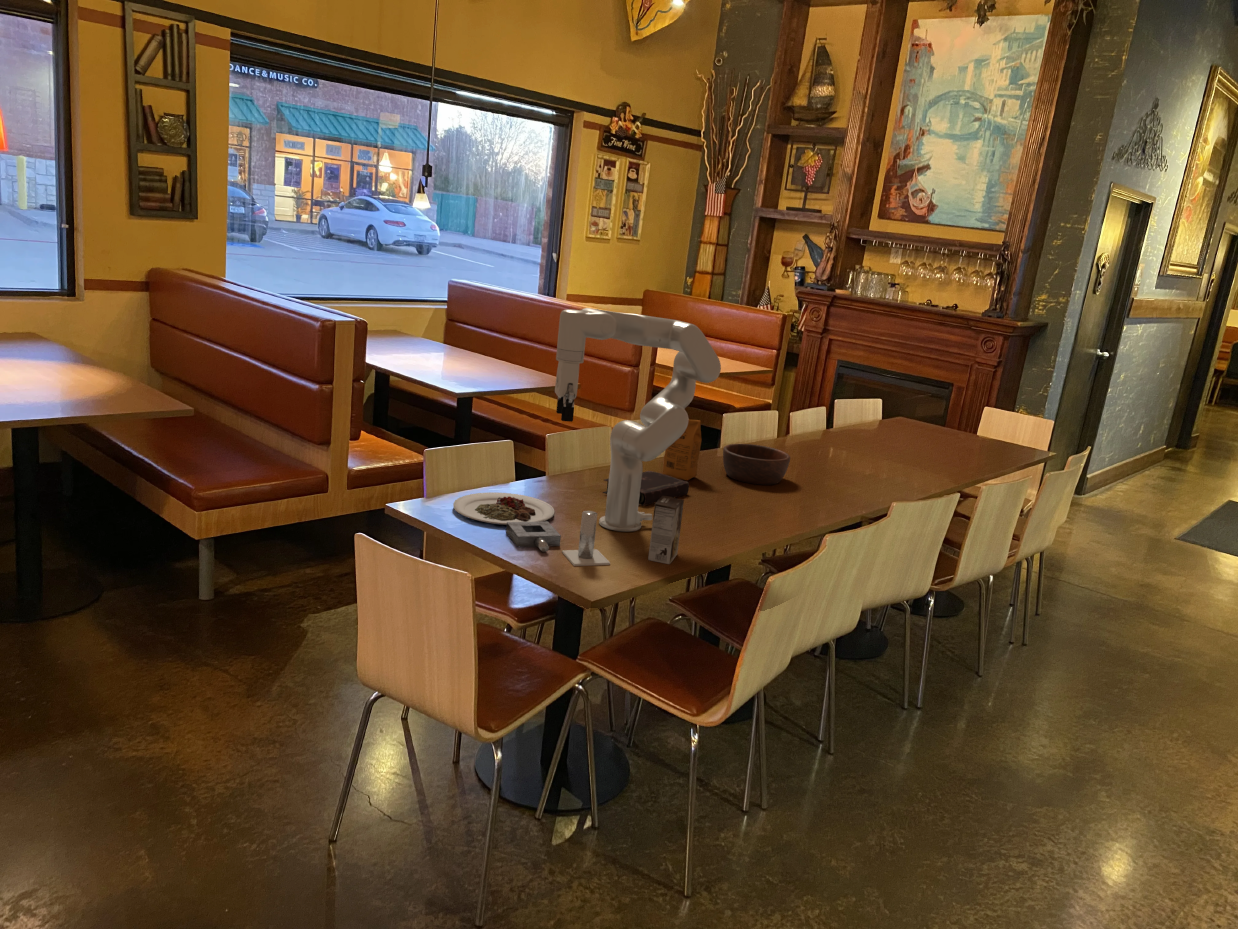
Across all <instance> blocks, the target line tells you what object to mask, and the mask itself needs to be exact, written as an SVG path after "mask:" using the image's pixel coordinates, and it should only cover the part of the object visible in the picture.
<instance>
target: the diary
mask: <svg viewBox="0 0 1238 929" xmlns="http://www.w3.org/2000/svg"><path fill="white" fill-rule="evenodd" d="M603 481H605V482H607V483H606V484H607V485H606V490H605V491H602V494H605V495H607V493H608V484H609V478H605V479H604V478H603ZM689 490H690V482H688V481H687V480H680V479H676V478H674V477H671V476H668V475H665V474H662V473H661V472H656V471H652V470H647V471H642V479H641V488H640V496H639V505H638V506H643V507H644V506H648V505H651V504H655V503H656V502H657V501H658V500H659V499H660V498H661V497H662V496H669V497H674V498H677V497H682V496H686V495H688V494H689Z"/></svg>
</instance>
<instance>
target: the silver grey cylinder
mask: <svg viewBox="0 0 1238 929" xmlns="http://www.w3.org/2000/svg"><path fill="white" fill-rule="evenodd" d="M597 521H598V512H595V511H594V510H584V511H582V512H581V521H580V522H581V523H580V531H579V542H578V549H577V550H578V557H580V558H583V559H591V558H593V551H594V549H595V541H596V532H597V531H596V530H597V523H598V522H597Z"/></svg>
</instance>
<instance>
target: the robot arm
mask: <svg viewBox="0 0 1238 929" xmlns="http://www.w3.org/2000/svg"><path fill="white" fill-rule="evenodd" d="M557 333H558V334H557V346H556V355H555V360H556V361H558V364H557V369H556V376H555V377H556V378H555V385H554V393H555V394H556V397H557V400H556V409H555V410H556V412H555V413H556V414H561V415H560V420H561V422H571V423H573V421H574V416H575V413H574V412H575V399H576V398H577V395H578V388H579V387H578V386H579V385H578V384H579V374H580V364H583V363H584V360H585V348H586V339H587V338H590V339H594V340H595V339H596V340H600V341H603V340H608V339H613V340H617V341H622V342H624V343H627V344H631V345H636V346H643V347H650V348H659V349H666V350H667V349H668V350H672V351H677V354H676V355H675V357H674V359H673V366H672V367H673V368H672V369H673V370H672V376H671V380H670V382H669V383H668V384H667V385H666V386H665V387H664V388H663V389H662V390H661V391H659V392H658V394H656V395H655V396H654V397H653V398H651V400H649V401H648V402H647V403H646V404H645V405H644V406H643V407H642V408H641V410H640V414H639V419H640V422H641V423H642V424H641V423H639V422H636V421H633V420H631V419H630V420H628V419H627V420H626V419H625V420H621V421H619V422H617V423H616V424H615V425H614V426H613V428H612V430H611V431H610V435H609V436H610V439H609V442H610V446H609V447H610V466H609V468H610V469H609V476H608V479H609V484H608V493H607V494H606V504H605V511H604V512H605V513H604V514H605V515H602V516H601V517H600V518H599V519H598V523H599V525H600V526H601V527H602V528H605V529H607V530H611V531H616V532H623V533H624V532H626V533H627V532H636V531H639V530H640V529H641V528H642V522H643V521H653V514H652V513H645V511H639V506H640V505H639V496H640V488H641V479H642V472H644V471H643V470H644V468H643V465H644V464H643V462H651V461H653V460H654V459H657V457H659V456H660V455H661V454H663V453H665V450H666V449H667V448H668V447H669V446H671V445H672V444H673V443H674V442H675V441H676V440H677V439H678V438H680V437H681V436H682V434H683V433H684V432H685V430H686V428H687V425H688V419H689V415H688V412H687V411H686V408H687V407H688V406H689V405H690V403H691V402H692V401H693V399H694V397H695V394H696V393H695V392H696V385H697V384H696V383H697V382H700V383H705V384H708V383H709V384H710V383H713V382H714V381H716V380H717V379H718V378H719V376H720V375H721V374H720V373H721V369H722V366H721V361H720V358H719V356H718V355H717V353H716V352H715V350H714V348H713V346H712V344H711V343H710V341H709V340H708V339H707V337H706V336H705V334H704V333H703V331H702V330H701V329H700V328H699V327H698V326H697V325H696V324H693V323H690V322H685V321H681V320H679V319H678V320H677V319H672V318H671V319H670V318H665V317H664V318H663V317H658V316H657V317H656V316H650V315H645V314H639V313H638V314H636V313H626V312H618V311H617V312H616V311H612V310H611V311H610V310H604V309H598V308H592V307H591V308H590V307H585V308H582V309H579V310H578V309H563V310H561V312H560V314H559V323H558V332H557Z"/></svg>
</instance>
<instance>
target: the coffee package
mask: <svg viewBox="0 0 1238 929" xmlns="http://www.w3.org/2000/svg"><path fill="white" fill-rule="evenodd" d="M701 425H702V420H700V419H699V420H698V419H690V418H688V425H687V428H686V430H685V432H684V433H683V434H682V436H681V437H680V438H678V439H677V440H676V441H675V442H674V443H673V444H672V445H671V446H669V447H668V448H667V449H666V450H665V451H664V456H663V464H662V473H661V474H665V475H668V476H671V477H674V478H676V479H679V480H683V481H690V480H691V479H693V478H696V476H697V474H698V462H699V458H700V452H701V446H702V431H701V429H702V428H701Z"/></svg>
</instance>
